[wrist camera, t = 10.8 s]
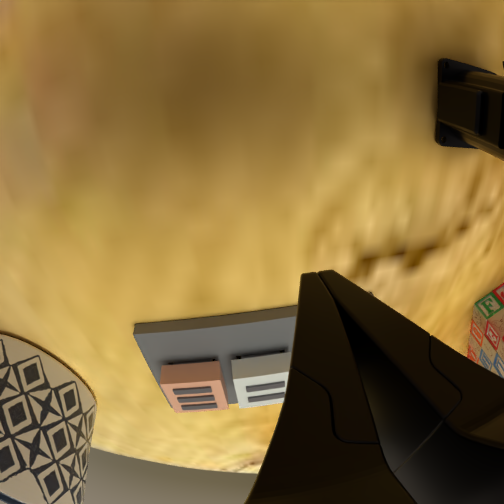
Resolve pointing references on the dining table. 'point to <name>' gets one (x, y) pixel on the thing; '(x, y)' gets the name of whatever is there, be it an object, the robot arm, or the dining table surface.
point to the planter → (42, 427)
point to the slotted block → (194, 386)
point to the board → (216, 340)
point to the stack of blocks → (488, 332)
